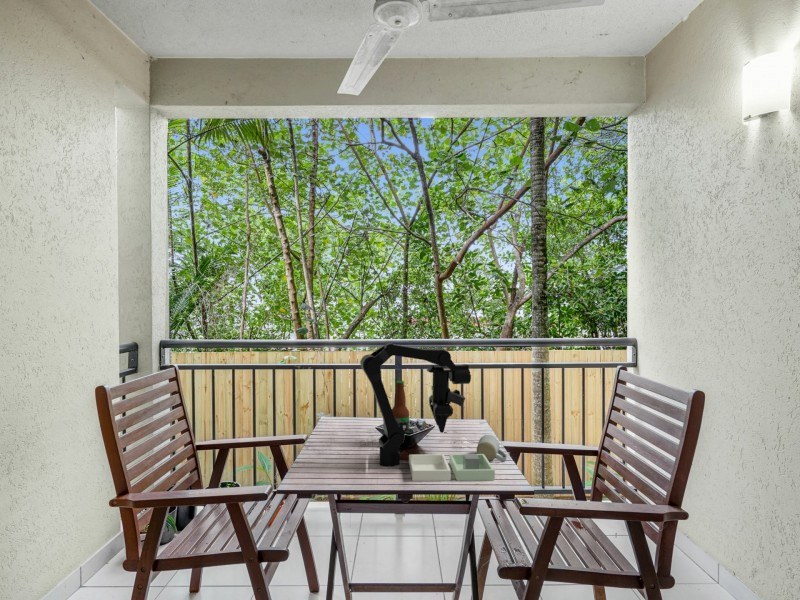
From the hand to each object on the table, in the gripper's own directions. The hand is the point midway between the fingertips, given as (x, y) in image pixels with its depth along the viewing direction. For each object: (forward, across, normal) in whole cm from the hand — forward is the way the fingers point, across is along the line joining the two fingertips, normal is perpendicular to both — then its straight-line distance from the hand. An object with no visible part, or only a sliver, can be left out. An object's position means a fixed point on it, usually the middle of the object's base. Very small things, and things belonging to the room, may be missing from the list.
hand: (440, 428), depth 181 cm
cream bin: (+12, -11, +5) cm, 17 cm away
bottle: (+12, +21, +13) cm, 28 cm away
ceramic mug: (+12, +4, -19) cm, 23 cm away
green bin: (+12, -11, -9) cm, 19 cm away
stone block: (+11, -11, -9) cm, 18 cm away
